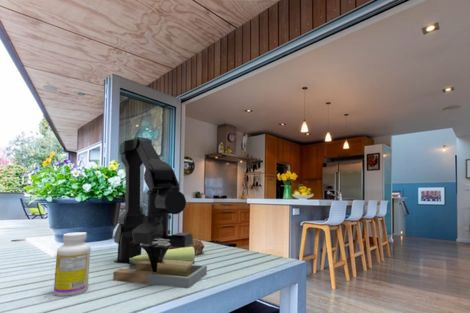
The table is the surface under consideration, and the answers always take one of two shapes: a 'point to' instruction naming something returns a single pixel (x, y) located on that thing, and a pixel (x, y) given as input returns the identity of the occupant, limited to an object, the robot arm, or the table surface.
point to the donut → (196, 244)
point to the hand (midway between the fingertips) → (155, 271)
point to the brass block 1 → (165, 267)
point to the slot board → (134, 273)
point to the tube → (171, 255)
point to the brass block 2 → (181, 268)
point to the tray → (178, 278)
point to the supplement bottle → (72, 265)
